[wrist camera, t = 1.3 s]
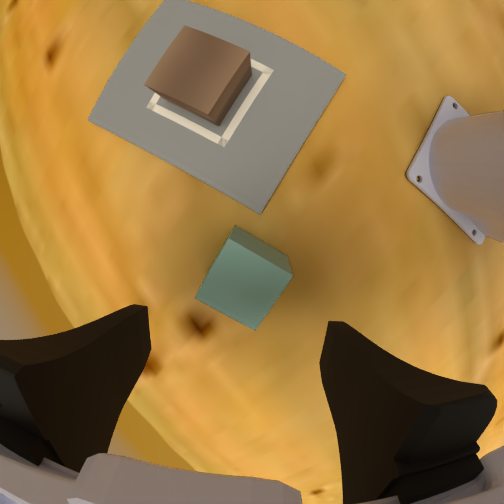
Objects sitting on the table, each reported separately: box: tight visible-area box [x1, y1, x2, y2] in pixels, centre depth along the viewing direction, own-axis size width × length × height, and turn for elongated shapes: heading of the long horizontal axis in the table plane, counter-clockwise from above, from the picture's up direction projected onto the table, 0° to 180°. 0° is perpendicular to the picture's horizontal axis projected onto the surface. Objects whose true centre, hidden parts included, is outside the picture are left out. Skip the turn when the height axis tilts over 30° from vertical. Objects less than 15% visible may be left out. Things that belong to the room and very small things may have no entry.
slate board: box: [88, 0, 346, 214], centre depth 17 cm, size 14×11×1 cm
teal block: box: [195, 225, 293, 331], centre depth 18 cm, size 4×4×4 cm
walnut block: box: [144, 25, 252, 126], centre depth 14 cm, size 4×4×4 cm
